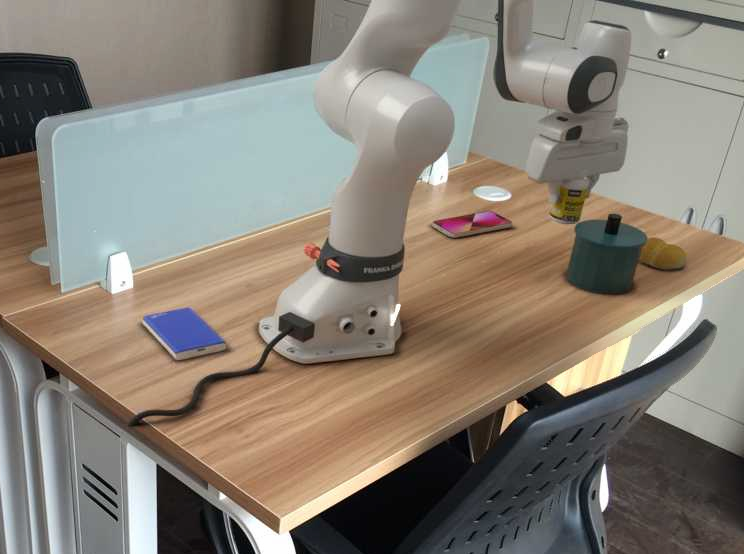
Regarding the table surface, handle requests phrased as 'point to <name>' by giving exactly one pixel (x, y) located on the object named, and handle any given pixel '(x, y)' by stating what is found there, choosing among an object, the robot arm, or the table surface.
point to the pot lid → (611, 233)
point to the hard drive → (183, 333)
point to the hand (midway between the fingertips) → (568, 200)
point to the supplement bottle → (570, 200)
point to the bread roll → (662, 254)
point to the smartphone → (471, 224)
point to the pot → (602, 267)
